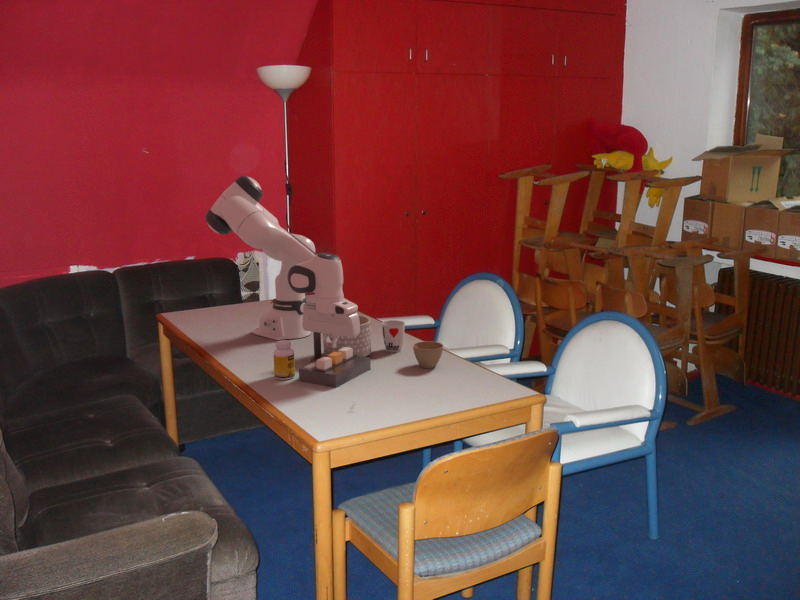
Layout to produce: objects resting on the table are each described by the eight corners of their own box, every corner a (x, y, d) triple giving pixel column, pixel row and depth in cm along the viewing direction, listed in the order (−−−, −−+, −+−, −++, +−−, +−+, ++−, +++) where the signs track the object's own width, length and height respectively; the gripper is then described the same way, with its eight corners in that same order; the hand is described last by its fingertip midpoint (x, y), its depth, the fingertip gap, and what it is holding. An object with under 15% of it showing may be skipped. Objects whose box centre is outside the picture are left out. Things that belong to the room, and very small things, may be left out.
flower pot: (433, 372, 243) (433, 351, 242) (407, 367, 249) (407, 346, 247) (448, 364, 252) (448, 343, 250) (423, 359, 257) (422, 339, 255)
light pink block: (316, 368, 235) (316, 360, 235) (324, 365, 239) (323, 356, 238) (324, 370, 234) (324, 361, 233) (331, 366, 237) (331, 357, 236)
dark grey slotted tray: (299, 380, 237) (298, 367, 236) (335, 363, 254) (334, 350, 253) (336, 387, 230) (335, 374, 229) (370, 369, 247) (370, 356, 246)
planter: (380, 356, 261) (379, 321, 258) (340, 366, 251) (339, 329, 248) (354, 346, 273) (353, 312, 270) (314, 354, 264) (313, 319, 261)
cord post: (307, 362, 255) (305, 316, 251) (316, 358, 259) (314, 313, 255) (319, 364, 252) (318, 318, 249) (328, 360, 257) (326, 315, 253)
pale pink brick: (338, 358, 245) (338, 350, 245) (345, 355, 249) (345, 346, 248) (346, 359, 244) (345, 351, 243) (352, 356, 247) (352, 348, 247)
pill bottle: (286, 381, 236) (284, 346, 233) (270, 378, 239) (268, 343, 237) (299, 376, 241) (297, 341, 239) (283, 372, 245) (282, 338, 242)
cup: (378, 351, 266) (377, 324, 264) (389, 345, 273) (388, 319, 271) (398, 354, 262) (398, 327, 260) (409, 348, 269) (408, 321, 267)
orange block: (327, 363, 240) (327, 354, 240) (334, 359, 244) (334, 351, 243) (335, 364, 239) (335, 356, 238) (342, 361, 242) (342, 352, 242)
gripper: (297, 303, 240) (299, 345, 243) (351, 310, 230) (352, 354, 233) (309, 299, 245) (310, 340, 248) (362, 306, 235) (363, 348, 238)
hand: (331, 347), depth 240 cm, fingers closed
